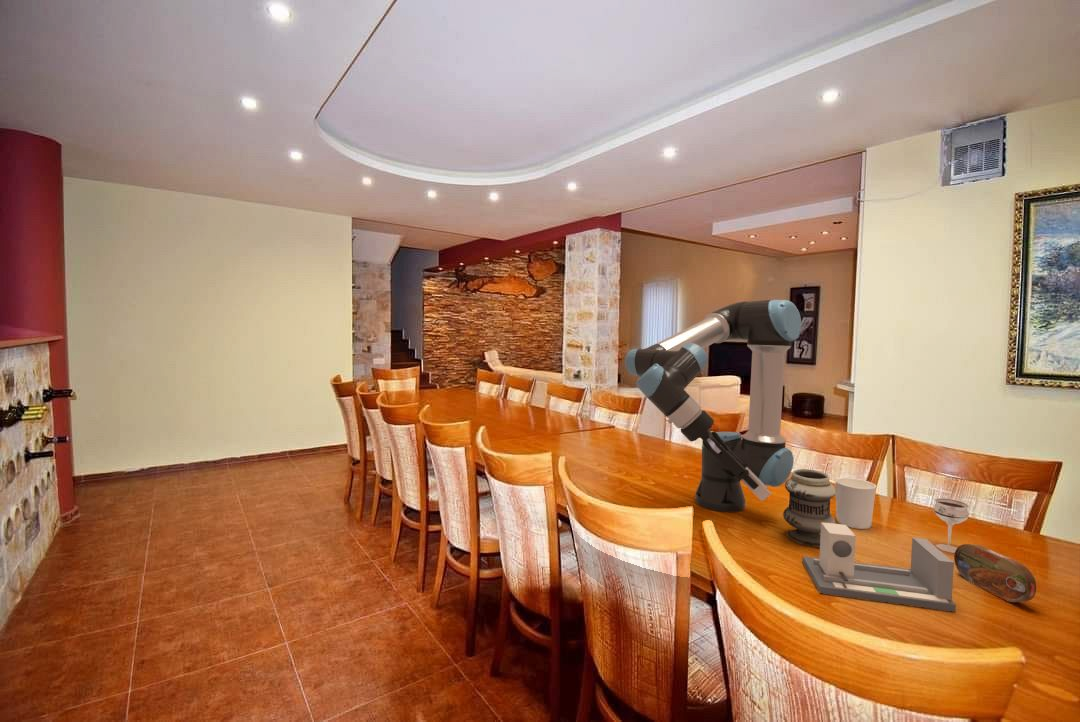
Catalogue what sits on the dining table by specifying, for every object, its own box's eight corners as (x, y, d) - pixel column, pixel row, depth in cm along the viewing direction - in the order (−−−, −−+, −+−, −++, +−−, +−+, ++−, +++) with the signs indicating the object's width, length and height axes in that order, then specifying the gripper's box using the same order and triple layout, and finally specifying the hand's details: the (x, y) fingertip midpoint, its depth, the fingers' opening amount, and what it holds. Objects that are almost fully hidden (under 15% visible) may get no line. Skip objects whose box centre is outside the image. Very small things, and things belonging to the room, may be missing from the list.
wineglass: (969, 557, 115) (972, 510, 115) (934, 550, 119) (936, 504, 118) (963, 546, 121) (965, 501, 120) (929, 540, 125) (931, 496, 124)
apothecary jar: (785, 544, 122) (787, 477, 121) (780, 526, 133) (782, 464, 132) (838, 552, 118) (842, 482, 117) (829, 533, 129) (831, 469, 128)
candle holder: (881, 531, 130) (883, 489, 129) (842, 528, 132) (843, 487, 131) (864, 518, 140) (866, 478, 139) (828, 515, 142) (829, 476, 141)
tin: (951, 572, 108) (954, 537, 108) (964, 572, 109) (966, 536, 108) (1024, 611, 93) (1027, 570, 93) (1038, 610, 94) (1041, 570, 93)
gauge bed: (819, 593, 99) (821, 550, 99) (802, 562, 113) (803, 523, 112) (955, 612, 93) (958, 566, 92) (919, 576, 106) (922, 536, 106)
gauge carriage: (832, 585, 99) (834, 539, 99) (819, 564, 108) (821, 522, 108) (859, 589, 98) (861, 542, 97) (843, 567, 107) (845, 524, 106)
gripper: (678, 423, 120) (746, 493, 116) (679, 437, 104) (757, 517, 101) (700, 403, 118) (770, 474, 115) (705, 414, 103) (785, 496, 99)
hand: (764, 494), depth 108 cm, fingers open, 3 cm apart
